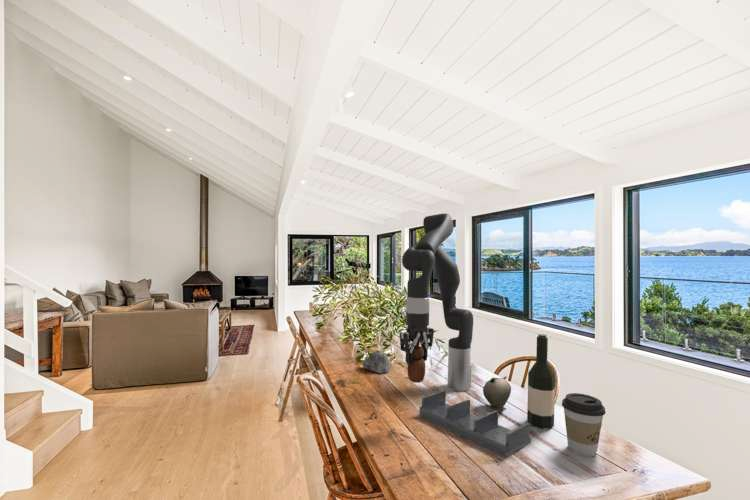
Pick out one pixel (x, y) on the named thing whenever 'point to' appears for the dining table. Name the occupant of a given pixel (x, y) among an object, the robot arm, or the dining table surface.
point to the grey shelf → (474, 425)
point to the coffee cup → (583, 422)
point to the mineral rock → (377, 362)
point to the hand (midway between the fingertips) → (416, 361)
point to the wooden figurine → (417, 365)
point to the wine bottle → (541, 389)
